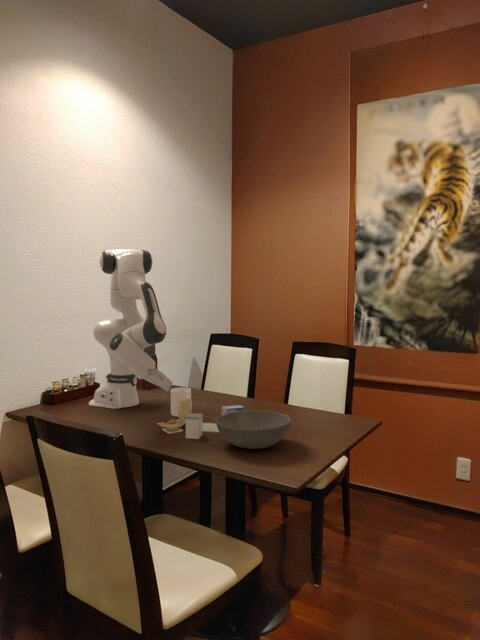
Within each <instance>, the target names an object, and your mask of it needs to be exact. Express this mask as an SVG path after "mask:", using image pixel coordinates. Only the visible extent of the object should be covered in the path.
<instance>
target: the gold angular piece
mask: <svg viewBox="0 0 480 640" xmlns="http://www.w3.org/2000/svg"><path fill="white" fill-rule="evenodd" d="M191 401H192V397H191V398H185V399H182V400H179V417H178V419H175V418H172V419H171V418H170V419H168V420H167V422H165V423H166V427H165V428H166V430H167V431H177V430H179V429H180V427H179V425H182V424H184V423H185V424H186V419H185V417H186V416H187V415H188V414H189V413H192V409H191ZM185 424H184V425H185Z"/></svg>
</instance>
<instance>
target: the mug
mask: <svg viewBox="0 0 480 640" xmlns="http://www.w3.org/2000/svg"><path fill="white" fill-rule="evenodd" d="M185 398H191V399H192V389H191V388H189V387H175V388H170V414H171V416H173V417H175V418H179V400H182V399H185ZM192 407H193V402H192V400H191V410H192Z"/></svg>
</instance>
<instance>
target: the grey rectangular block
mask: <svg viewBox="0 0 480 640" xmlns="http://www.w3.org/2000/svg"><path fill="white" fill-rule="evenodd" d="M203 416H204V414H203V413H194V412H191V413H189V414H188V415H187V416H186V417H185V419H186V423H185V439H192V440H193V439H194V440H200V439H201V437H202V436H203V432H202V423H203Z"/></svg>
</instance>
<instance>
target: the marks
mask: <svg viewBox="0 0 480 640" xmlns="http://www.w3.org/2000/svg"><path fill="white" fill-rule="evenodd" d="M156 425H158V426H159V427H160V428H161V431H163V432H165V433H167V434H169V435H170V434H175V433H181V432H184V430H183V429H181V428H182V427H183V426H185V425H186V423H184V424H182V425H179V430H177V431H167V430H166V422H164V421H162V422H157V423H156Z"/></svg>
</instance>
